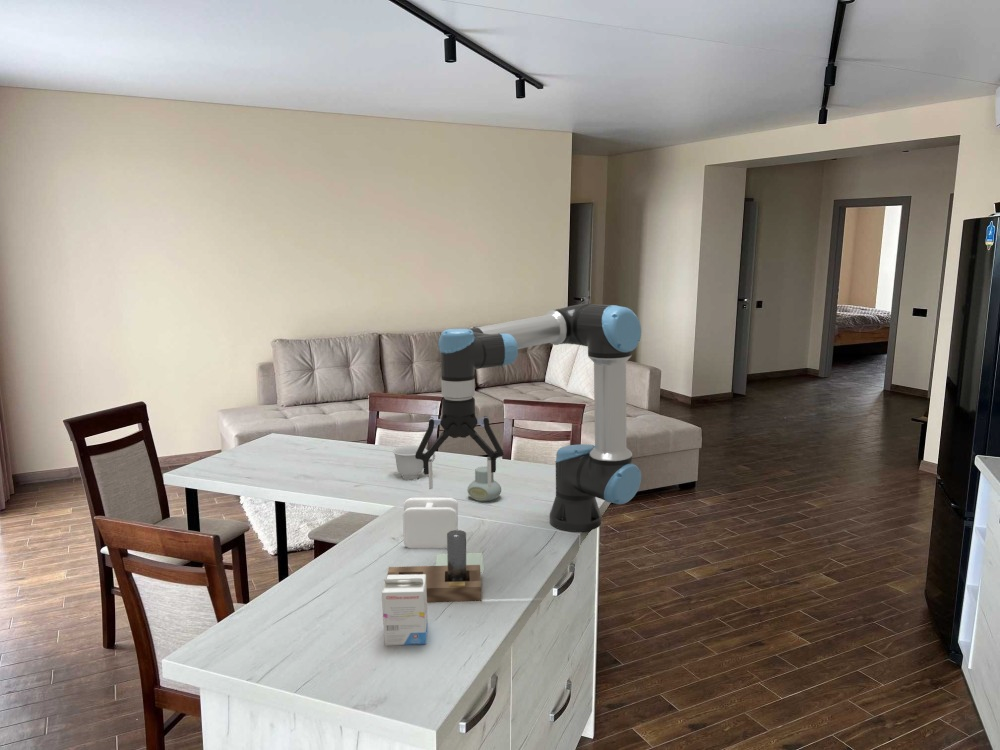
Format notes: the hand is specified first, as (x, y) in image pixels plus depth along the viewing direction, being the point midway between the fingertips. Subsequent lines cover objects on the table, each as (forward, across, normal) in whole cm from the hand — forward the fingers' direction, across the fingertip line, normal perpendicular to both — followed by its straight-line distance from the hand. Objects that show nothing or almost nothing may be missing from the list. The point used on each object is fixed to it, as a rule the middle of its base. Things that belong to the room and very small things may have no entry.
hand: (460, 486), depth 171 cm
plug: (+25, +1, +2) cm, 25 cm away
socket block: (+25, +7, +2) cm, 26 cm away
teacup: (+25, +16, -87) cm, 92 cm away
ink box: (+25, +12, +22) cm, 35 cm away
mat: (+25, +1, -12) cm, 28 cm away
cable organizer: (+25, +8, -27) cm, 38 cm away
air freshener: (+26, -8, -63) cm, 68 cm away
